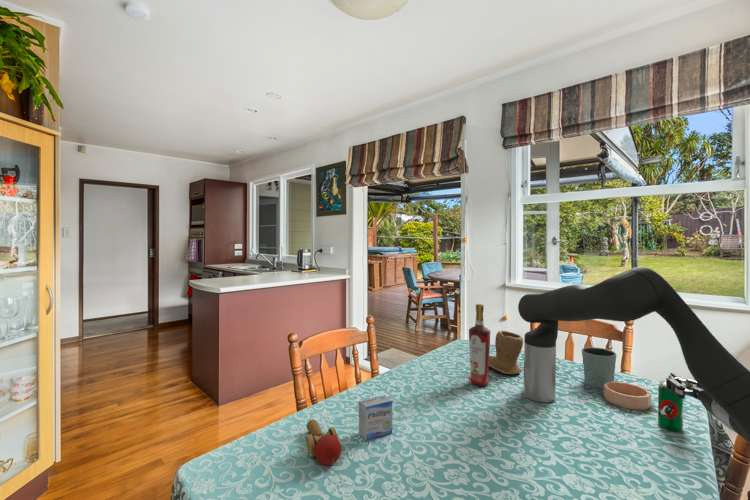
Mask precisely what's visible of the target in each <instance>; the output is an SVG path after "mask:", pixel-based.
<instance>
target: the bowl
mask: <svg viewBox="0 0 750 500" xmlns="http://www.w3.org/2000/svg"><path fill="white" fill-rule="evenodd" d="M603 392H604V398H605V399H606V400H607V401H608V402H610V403H612V404H614V405H617V406H620V407H619V408H621V407H623V408H622V409H629V410H636V411H642V410H646V409H649V408H650V405H651V404H652V393H651V392H650V391H649V390H648V389H646V388H644V387H642V386H640V385H637V384H632V383H629V382H623V381H615V380H614V382H606V383H605V384H604V389H603Z"/></svg>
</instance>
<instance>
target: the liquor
mask: <svg viewBox="0 0 750 500" xmlns="http://www.w3.org/2000/svg"><path fill="white" fill-rule="evenodd" d="M484 306H485V305H484V304H483V303H481V304H480V303H475V313H476V314H475V325H474V326H472V327H470V328H469V329H468V345H469V346H468V347H469V362H470V363H469V364H470V365H469V366H470V367H469V368H470V377H469V379H468V380H469V381H470V382H471V383H472V385H474V386H476V385H477V387H485V386H487V385H488V384H489V383H490V379H489V368H490V366H489V356H490V350H491V349H490V348H491V330H490V329H488V328H487V327H485V325H484V323H485V322H484Z"/></svg>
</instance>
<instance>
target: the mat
mask: <svg viewBox="0 0 750 500" xmlns="http://www.w3.org/2000/svg"><path fill="white" fill-rule="evenodd" d="M597 392H598V394H599V395H600V396H601V398H602V400H603V402H604V404H605V405H606V406H608V407H615V408H621V409H624V408H623V407H620V406H617V405H614V404H612V403H610V402H608V401H607V400H606V399H605V398H604V391H601V390H598V391H597ZM641 411H643V412H651V413H657V414H658V409H656V407H655V406H654V405H653V404H652V403H651V405H650V408H649V409H646V410H641Z"/></svg>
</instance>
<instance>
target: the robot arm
mask: <svg viewBox="0 0 750 500" xmlns="http://www.w3.org/2000/svg"><path fill="white" fill-rule="evenodd" d="M517 310H518V314H519V316H520V318H521V319H522V320H524V321H525V322H527V323H529V324H539V325H538V326H537V327H536V328H534V329H532V330H529V331H527V332H525V334H524V339H523V347H524V348H523V350H524V351H523V352H524V353H523V355H524V356H523V357H524V358H523V360H524V361H523V362H524V363H523V395H524V396H523V397H524V398H525V399H529V400H531V401H534V402H537V403H552V402H555V401H556V398H557V397H556V393H557V392H556V385H557V381H556V380H557V379H556V378H557V374H556V373H557V371H556V370H557V368H556V367H557V365H556V364H557V339H558V333H559V322H581V321H582V322H584V321H592V320H604V321H613V322H624V323H625V322H632V321H637V320H639V319H641V318H643V317H645V316H647V315H650V314H651V313H656V314H658V315H659V316H660V317H661V318H663V320H664V321H665V322H667V325H669V326H670V328H671V329H672V331H673V332H674V334H675V336H676V339H677V341H678V342H679V345H680V349H681V353H682V354H683V355H682V356H683V359H684V361H685V364H686V366H687V368H688V371H689V373H690V375H691V376H692V378H693V379H691V378H690V379H684V378H682V377H681V376H679V375H678V374H677V373H675V372H670V374H668V376H666V377H665V381H667V382H666V388H667V389H668V390H669V391H671V392H672V393H673V394H674V395H676V396H677V397H679V398H681V399H683V400H684V399H685V398H686V396H688V397H690V398H694V399H696V400H698V401H700V402H701V404H702V406H703V407H704V408H705V410H706V411H707V413H709V414H710V415H711V416H713V417H714V418H715V419H717V420H718V421H719V422H720V423H722V425H724V426H725V427H726V428H728V429H729V430H731V431H732V432H734V433H735V434H737V435H738V436H740V437H741V438H742V439H744V440H745V441H746V442H747V443H749V444H750V370H749V369H748V368H747V367H745V366H744V365H743V364H742V363H741V362H740V361H739V360H738V359H737V358H735V356H734V355H732V353H730V352H729V350H727V348H725V347H724V345H723V344H722V343H721V342H720V341H719V340H718V339H717V338H716V337H715V335H713V334H712V332H711V331H710V330H709V328H707V326H706V325H705V324H704V323H703V322H702V321H701V319H700V318H699V317H698V316H697V314H696V313H695V312H694V311H693V310H692V308H691V307H690V306H689V305H688V304H687V303H686V302H685V300H684V299H683V298H682V297H681V296H680V294H679V293H678V292H677V291H676V290H675V289H674V288H673V286H672V285H671V284H670V283H669V282H668V281H667V280H666V278H664V277H663V276H661V274H659V273H657V271H655V270H654V269H651V268H649V267H647V266H636V267H633V268H630V269H628V270H624V271H622V272H620V273H618V274H615V275H612V276H611V277H609V278H607V279H604V280H603V281H601V282H599V283H597V284H595V285H592V286H589V287H588V286H586V285H582V284H572V285H566V286H563V287H559V288H556V289H553V290H548V291H545V292H543V293H542V292H541V293H527V294H524V295H523V296H522V297H521V298H520V299H519V301H518V305H517ZM694 385H695V386H694Z"/></svg>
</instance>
